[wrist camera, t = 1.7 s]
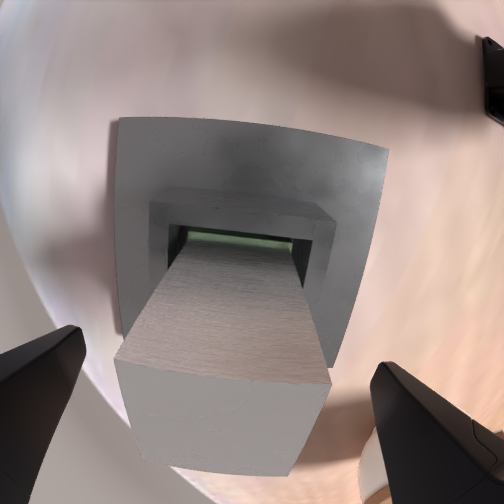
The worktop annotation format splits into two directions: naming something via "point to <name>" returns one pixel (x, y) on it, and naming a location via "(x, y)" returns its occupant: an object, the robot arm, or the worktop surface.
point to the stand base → (246, 205)
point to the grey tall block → (225, 359)
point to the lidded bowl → (375, 472)
